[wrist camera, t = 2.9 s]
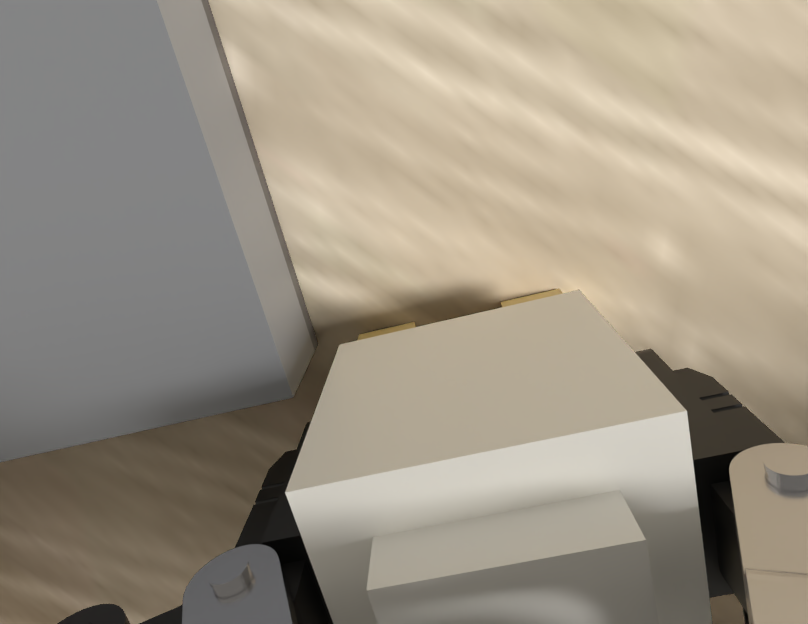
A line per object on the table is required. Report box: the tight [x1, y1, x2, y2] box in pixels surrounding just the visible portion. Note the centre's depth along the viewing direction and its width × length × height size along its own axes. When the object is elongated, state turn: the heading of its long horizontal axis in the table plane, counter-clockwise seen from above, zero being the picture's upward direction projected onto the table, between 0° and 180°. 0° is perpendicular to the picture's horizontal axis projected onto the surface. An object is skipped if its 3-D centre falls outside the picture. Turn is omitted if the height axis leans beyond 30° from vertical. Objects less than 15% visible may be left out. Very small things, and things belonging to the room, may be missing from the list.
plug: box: [285, 289, 713, 624], centre depth 10 cm, size 4×5×7 cm
